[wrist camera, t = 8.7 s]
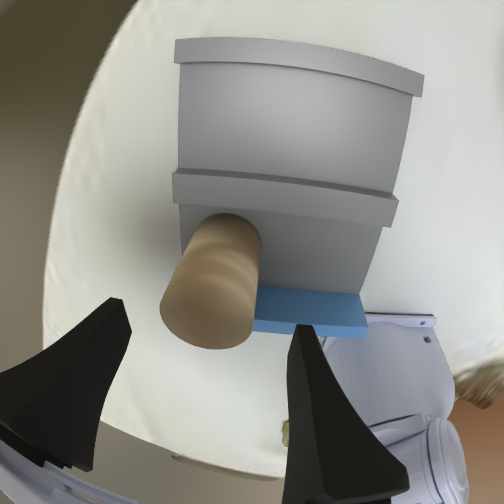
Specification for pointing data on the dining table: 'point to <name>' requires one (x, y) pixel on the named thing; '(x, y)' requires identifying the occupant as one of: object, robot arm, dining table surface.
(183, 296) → the wooden plug
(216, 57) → the board
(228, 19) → the dining table surface
